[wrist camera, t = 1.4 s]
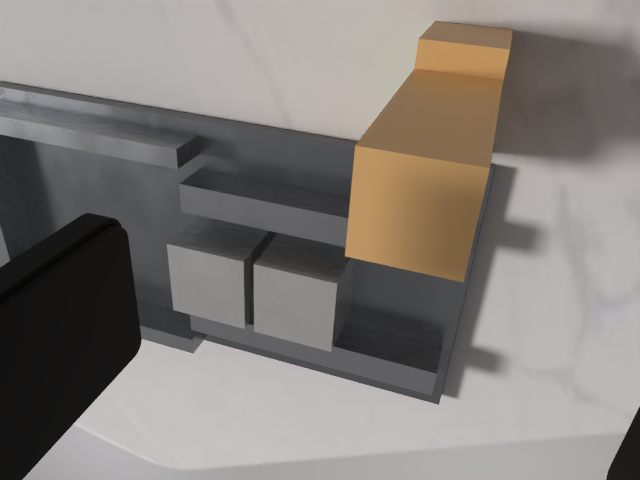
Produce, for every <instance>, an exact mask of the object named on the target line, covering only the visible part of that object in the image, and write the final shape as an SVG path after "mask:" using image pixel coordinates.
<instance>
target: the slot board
mask: <svg viewBox="0 0 640 480" xmlns="http://www.w3.org/2000/svg"><path fill="white" fill-rule="evenodd" d="M357 143H358V142H357V141H351V140H345V139H339V138H333V137H328V136H322V135H316V134H310V133H304V132H298V131H292V130H286V129H280V128H274V127H268V126H262V125H256V124H250V123H244V122H238V121H233V120H227V119H221V118H215V117H209V116H203V115H197V114H191V113H185V112H179V111H173V110H167V109H161V108H155V107H149V106H143V105H138V104H132V103H126V102H120V101H114V100H108V99H102V98H96V97H90V96H84V95H78V94H72V93H66V92H60V91H54V90H48V89H43V88H37V87H31V86H25V85H19V84H13V83H7V82H1V81H0V267H1V266H3V265H5V264H6V263H8V262H9V261H11V260H12V259H14V258H15V257H17V256H19V255H20V254H22V253H23V252H25V251H26V250H28V249H30V248H31V247H33V246H34V245H36V244H37V243H39V242H40V241H42V240H44V239H45V238H47V237H48V236H50V235H51V234H53V233H55V232H56V231H58V230H59V229H61V228H62V227H64V226H66V225H67V224H69V223H70V222H72V221H73V220H75V219H76V218H78V217H80V216H81V215H83V214H86V213H93V214H97V215H101V216H106V217H110V218H115V219H117V220H118V221H119V222H120V224H121V226H122V228H123V229H125V230H126V232H127V234H128V239H129V246H130V254H131V262H132V269H133V277H134V284H135V292H136V300H137V307H138V315H139V322H140V330H141V339H145V340H148V341H152V342H155V343H159V344H162V345H166V346H169V347H173V348H176V349H180V350H183V351H187V352H191V353H194V352H195V350H196V349H197V348H198V347H199V345H200V344H201V343H202V341H203V340H207V341H211V342H214V343H218V344H221V345H225V346H229V347H232V348H236V349H240V350H243V351H247V352H250V353H254V354H258V355H261V356H265V357H269V358H272V359H276V360H279V361H283V362H287V363H290V364H294V365H297V366H301V367H305V368H308V369H312V370H316V371H319V372H323V373H326V374H330V375H334V376H337V377H341V378H345V379H348V380H352V381H355V382H359V383H363V384H366V385H370V386H373V387H377V388H381V389H384V390H388V391H392V392H395V393H399V394H402V395H406V396H410V397H413V398H417V399H421V400H424V401H428V402H431V403H435V404H439V401H440V397H441V393H442V389H443V385H444V380H445V376H446V372H447V368H448V364H449V359H450V355H451V351H452V347H453V343H454V338H455V334H456V330H457V326H458V321H459V317H460V313H461V309H462V305H463V300H464V296H465V292H466V288H467V284H468V279H469V275H470V271H471V267H472V262H473V258H474V254H475V250H476V246H477V241H478V237H479V233H480V229H481V225H482V220H483V216H484V212H485V208H486V203H487V199H488V195H489V191H490V187H491V182H492V178H493V174H494V168H495V165H494V164H491V165H490V170H489V175H488V179H487V183H486V188H485V192H484V196H483V201H482V205H481V209H480V214H479V218H478V222H477V226H476V231H475V235H474V239H473V244H472V248H471V252H470V257H469V261H468V265H467V269H466V274H465V278H464V282H459V281H454V280H450V279H445V278H441V277H436V276H432V275H427V274H423V273H418V272H414V271H409V270H405V269H400V268H396V267H391V266H387V265H382V264H378V263H373V262H369V261H364V260H360V259H356V263H355V273H354V282H353V292H352V301H351V310H350V312H349V314H348V316H347V319H346V321H345V323H344V325H343V327H342V330H341V332H340V334H339V336H338V338H337V341H336V343H335V345H334V347H333V349H332V351H331V352H329V351H325V350H322V349H318V348H314V347H310V346H307V345H303V344H299V343H295V342H291V341H288V340H284V339H280V338H276V337H273V336H269V335H265V334H261V333H258V332H254V317H253V318H252V319H251V321H250V322H249V324H248V325H247V327H246V328H245V329H243V328H239V327H235V326H231V325H228V324H224V323H220V322H216V321H213V320H209V319H205V318H201V317H197V316H194V315H190V314H186V313H182V312H179V311H175V310H173V301H172V291H171V281H170V271H169V262H168V252H167V243H168V242H169V241H170V240H172V239H173V238H174V237H175V236H176V235H177V234H178V233H179V232H180V231H182V230H183V229H184V228H185V227H186V226H187V225H188V224H189V223H191V222H192V221H193V220H194V219H195V218H196V217H197V216H198V215H199V216H203V217H208V218H213V219H217V220H222V221H226V222H231V223H236V224H240V225H245V226H249V227H254V228H259V229H263V230H268V231H272V240H273V239H274V238H275V237H276V235H277V234H278V233H282V234H286V235H291V236H296V237H300V238H305V239H309V240H314V241H319V242H323V243H328V244H332V245H337V246H342V247H346V239H347V228H348V218H349V207H350V196H351V186H352V175H353V164H354V154H355V145H356V144H357Z"/></svg>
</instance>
